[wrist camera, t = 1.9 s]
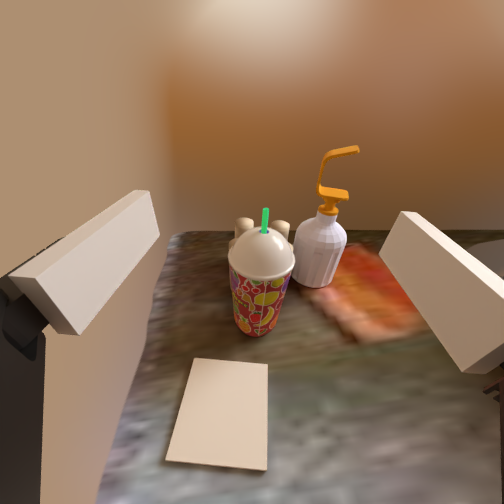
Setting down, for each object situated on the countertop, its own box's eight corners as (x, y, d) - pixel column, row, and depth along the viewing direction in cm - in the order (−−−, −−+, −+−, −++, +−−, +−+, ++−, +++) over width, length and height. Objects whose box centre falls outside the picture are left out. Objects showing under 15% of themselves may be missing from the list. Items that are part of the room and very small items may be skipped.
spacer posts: (282, 259, 48) (289, 221, 42) (285, 297, 39) (294, 254, 33) (236, 256, 48) (236, 217, 42) (228, 292, 39) (227, 249, 33)
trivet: (267, 366, 29) (267, 364, 28) (266, 471, 21) (267, 470, 20) (194, 359, 29) (194, 357, 28) (166, 461, 21) (165, 459, 20)
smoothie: (226, 305, 37) (221, 196, 25) (270, 297, 38) (287, 192, 26) (235, 351, 30) (235, 232, 18) (288, 339, 32) (320, 224, 20)
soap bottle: (331, 293, 40) (388, 156, 25) (285, 282, 42) (312, 148, 27) (331, 265, 47) (376, 144, 32) (291, 256, 49) (316, 138, 34)
